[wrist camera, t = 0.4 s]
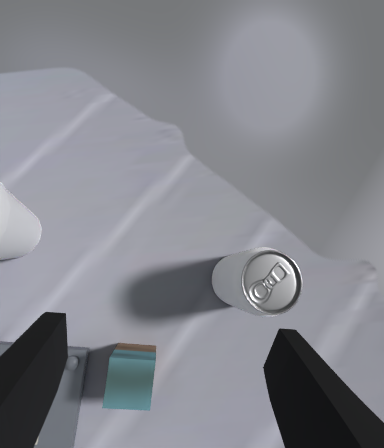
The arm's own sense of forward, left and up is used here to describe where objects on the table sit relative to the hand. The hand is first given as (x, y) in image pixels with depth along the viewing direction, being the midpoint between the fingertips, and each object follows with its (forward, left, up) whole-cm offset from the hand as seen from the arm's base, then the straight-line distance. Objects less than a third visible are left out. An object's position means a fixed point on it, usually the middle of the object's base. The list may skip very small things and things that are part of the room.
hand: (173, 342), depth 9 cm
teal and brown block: (-8, +2, -26) cm, 27 cm away
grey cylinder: (+3, -9, -26) cm, 28 cm away
